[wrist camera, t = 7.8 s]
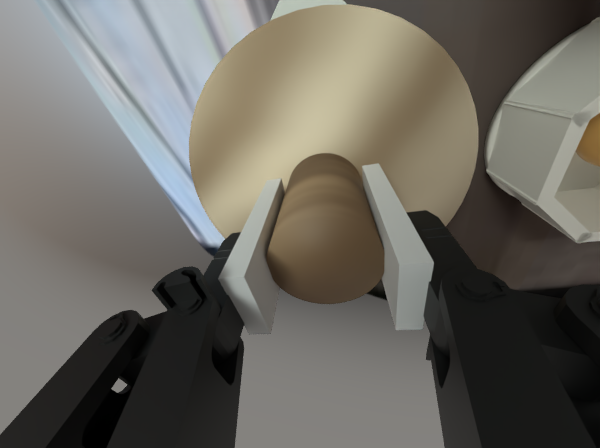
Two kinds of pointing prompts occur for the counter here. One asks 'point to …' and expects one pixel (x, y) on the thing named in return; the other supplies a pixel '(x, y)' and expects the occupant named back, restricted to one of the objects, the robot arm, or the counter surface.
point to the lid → (332, 139)
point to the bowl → (553, 136)
